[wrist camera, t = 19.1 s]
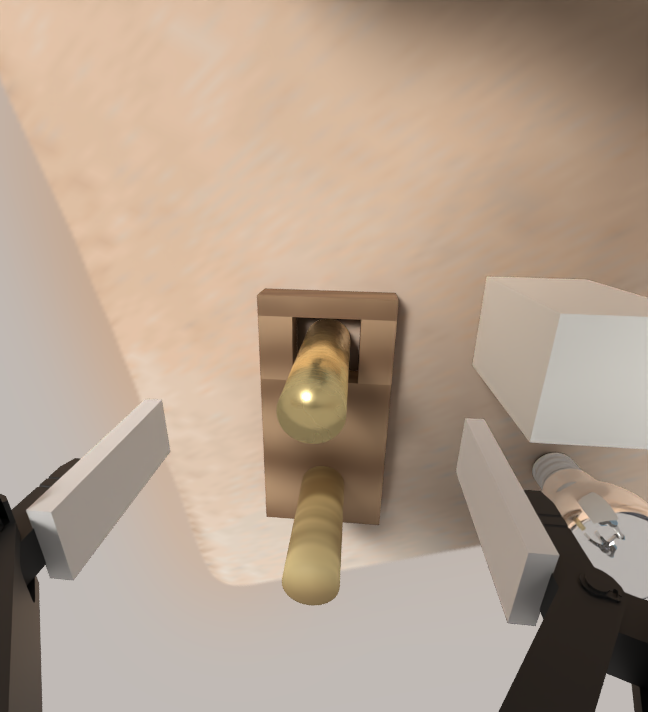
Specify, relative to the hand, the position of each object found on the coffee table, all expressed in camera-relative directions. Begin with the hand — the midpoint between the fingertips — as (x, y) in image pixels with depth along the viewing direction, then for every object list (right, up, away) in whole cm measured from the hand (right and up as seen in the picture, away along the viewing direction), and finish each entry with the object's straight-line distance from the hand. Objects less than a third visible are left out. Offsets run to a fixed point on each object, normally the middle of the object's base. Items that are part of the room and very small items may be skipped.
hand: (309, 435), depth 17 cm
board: (+1, -1, +16) cm, 16 cm away
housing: (+16, +6, +12) cm, 21 cm away
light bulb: (+20, -5, +17) cm, 26 cm away
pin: (+1, +5, +14) cm, 15 cm away
